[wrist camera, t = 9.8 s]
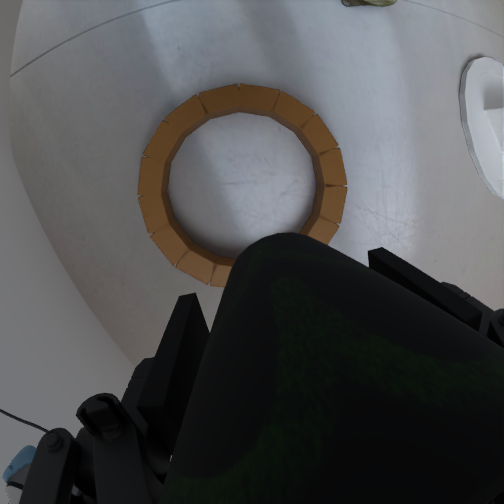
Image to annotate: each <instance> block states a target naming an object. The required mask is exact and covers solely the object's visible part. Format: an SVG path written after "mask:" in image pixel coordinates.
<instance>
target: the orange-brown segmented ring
mask: <svg viewBox="0 0 504 504" xmlns="http://www.w3.org/2000/svg"><path fill="white" fill-rule="evenodd" d="M278 95H279V96H278ZM199 97H200V99H199ZM199 97H198V96H197V95H194V96H193V97H191V98H190V99H189V100H187V101H186V102H185V103H183V104H182V105H181V106H179V107H178V108H177V109H175V110H174V111H173V112H171V113H170V114H169V115H168V116H166V117H165V120H166V121H167V122H168V123H167V122H165V121H162V122H161V123H160V125H159V127H158V128H157V130H156V132H155V134H154V135H153V137H152V139H151V141H150V142H149V144H148V146H147V148H146V150H145V151H144V153H143V154H144V155H145V156H147V157H142V160H141V168H140V176H139V185H138V195H141V196H142V197H139V198H138V200H139V203H140V207H141V210H142V214H143V217H144V221H145V224H146V227H147V231H148V233H149V234H150V233H153V234H152V235H151V236H150V238H151V239H152V240H153V241H154V243H155V244H156V245H157V246H158V248H159V249H160V250H161V251H162V252H163V254H164V255H165V256H166V257H167V259H168V260H169V261H170V262H171V263H172V265H175V264H176V263H177V262H178V263H177V265H176V268H178V269H180V270H181V271H183V272H185V273H187V274H189V275H190V276H192V277H194V278H196V279H198V280H200V281H201V282H203V283H205V284H207V285H208V284H209V282H210V281H211V284H210V286H215V287H223V288H225V285H226V282H227V279H228V276H229V273H230V270H231V268H232V266H233V264H234V263H235V261H236V260H237V259H233V258H225V257H218V256H216V255H214V254H212V253H211V252H209V251H207V250H205V249H204V248H202V247H200V246H198V245H196V244H195V243H193V242H192V241H191V239H190V238H189V237H188V236H187V234H186V233H185V232H184V231H183V229H182V228H181V227H180V225H179V224H178V223H177V222H176V220H175V218H174V215H173V211H172V208H171V204H170V201H169V197H168V193H167V190H168V181H169V173H170V166H171V162H172V160H173V158H174V156H175V155H176V153H177V151H178V150H179V148H180V146H181V145H182V143H183V141H184V139H185V138H186V137H187V136H188V135H189V134H191V133H192V132H193V131H195V130H196V129H197V128H199V127H200V126H201V125H203V124H204V123H206V122H207V121H208V120H210V119H213V118H217V117H221V116H225V115H229V114H233V113H237V112H243V113H249V114H256V115H262V116H268V117H270V118H272V119H274V120H275V121H277V122H279V123H280V124H282V125H283V126H285V127H287V128H288V129H290V130H291V131H293V132H294V133H295V134H296V135H297V137H298V138H299V140H300V141H301V142H302V144H303V145H304V147H305V148H306V149H307V151H308V152H309V154H310V155H311V157H312V162H313V166H314V171H315V175H316V180H317V190H316V196H315V201H314V207H313V212H312V214H311V216H310V217H309V219H308V220H307V222H306V223H305V225H304V227H303V228H302V230H301V231H300V233H299V234H304V235H307V236H310V237H312V238H314V239H316V240H318V241H320V242H322V243H324V244H326V245H328V244H329V242H330V240H331V239H332V237H333V236H334V234H335V233H336V231H337V230H338V228H339V225H337V224H336V223H339V224H340V223H341V219H342V214H343V209H344V204H345V198H346V193H347V187H344V186H343V185H347V179H346V174H345V169H344V165H343V160H342V155H341V151H340V148H335V147H337V146H338V143H337V142H336V140H335V139H334V137H333V136H332V134H331V133H330V131H329V130H328V128H327V127H326V126H325V124H324V123H323V121H322V120H321V119H320V117H319V116H318V114H316V115H314V116H313V114H314V113H315V111H313V110H312V109H310V108H309V107H307V106H306V105H304V104H302V103H301V102H299V101H298V100H296V99H295V98H293V97H291V96H290V95H288V94H286V93H285V92H283V91H281V93H280V94H279V90H278V89H272V88H267V87H261V86H255V85H248V84H240V87H239V88H238V84H233V85H229V86H224V87H220V88H216V89H212V90H208V91H204V92H201V93H199ZM334 148H335V149H334Z"/></svg>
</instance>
